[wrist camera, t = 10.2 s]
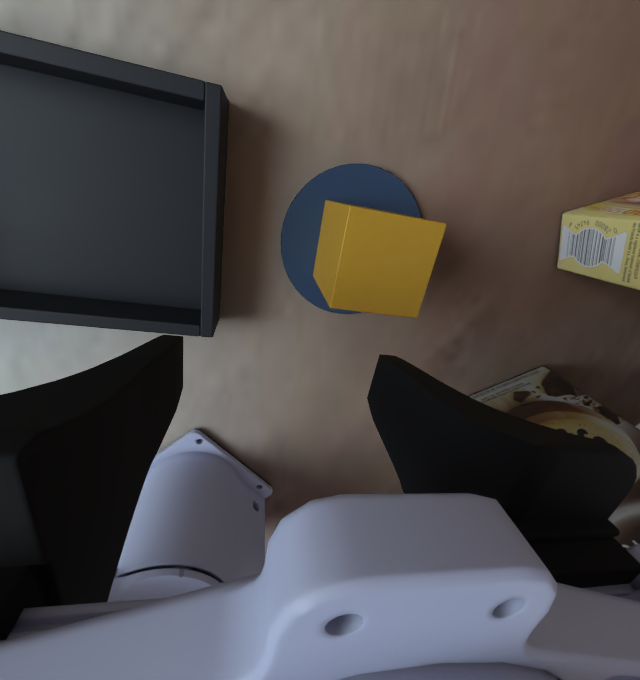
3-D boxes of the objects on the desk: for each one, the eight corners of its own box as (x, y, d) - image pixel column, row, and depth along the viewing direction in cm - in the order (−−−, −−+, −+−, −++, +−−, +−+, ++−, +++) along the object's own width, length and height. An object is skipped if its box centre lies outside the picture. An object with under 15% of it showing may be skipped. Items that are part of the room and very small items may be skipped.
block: (397, 213, 19) (447, 223, 14) (379, 285, 21) (417, 318, 16) (325, 199, 18) (349, 205, 13) (312, 275, 20) (329, 308, 15)
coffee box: (543, 361, 27) (864, 566, 12) (546, 415, 30) (808, 630, 15) (442, 403, 27) (641, 650, 13) (455, 452, 30) (628, 697, 16)
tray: (229, 101, 16) (222, 85, 13) (219, 319, 21) (212, 337, 18) (-166, 6, 13) (-276, -39, 10) (-70, 290, 18) (-127, 308, 15)
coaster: (442, 259, 21) (445, 260, 21) (333, 335, 23) (334, 338, 22) (377, 127, 18) (379, 126, 17) (249, 228, 19) (249, 229, 18)
